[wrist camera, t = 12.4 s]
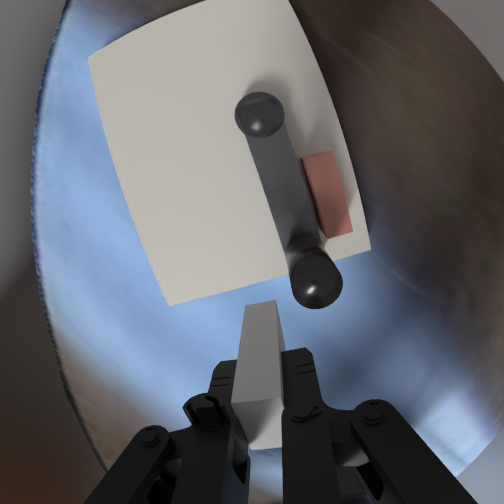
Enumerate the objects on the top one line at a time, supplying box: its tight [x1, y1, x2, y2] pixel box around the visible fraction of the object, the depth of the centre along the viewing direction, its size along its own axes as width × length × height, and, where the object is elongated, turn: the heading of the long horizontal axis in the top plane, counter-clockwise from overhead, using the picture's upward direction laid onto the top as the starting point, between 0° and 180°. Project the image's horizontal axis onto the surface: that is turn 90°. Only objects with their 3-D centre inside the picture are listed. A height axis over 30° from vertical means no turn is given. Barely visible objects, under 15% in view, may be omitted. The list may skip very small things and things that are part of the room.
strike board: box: [88, 0, 371, 306], centre depth 20 cm, size 26×19×5 cm
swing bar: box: [235, 92, 343, 309], centre depth 18 cm, size 14×4×8 cm, turn 19°
